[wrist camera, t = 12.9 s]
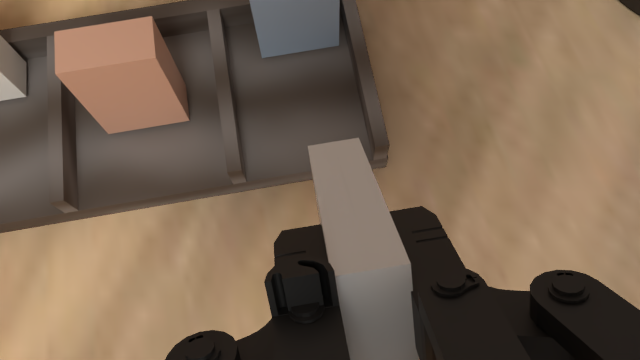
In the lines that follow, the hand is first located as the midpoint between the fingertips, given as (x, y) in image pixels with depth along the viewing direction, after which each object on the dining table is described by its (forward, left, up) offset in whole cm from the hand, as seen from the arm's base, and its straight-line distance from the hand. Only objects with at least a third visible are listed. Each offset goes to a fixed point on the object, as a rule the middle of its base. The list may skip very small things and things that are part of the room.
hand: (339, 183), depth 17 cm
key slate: (-8, -14, -16) cm, 23 cm away
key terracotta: (+2, -16, -16) cm, 22 cm away
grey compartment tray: (+2, -16, -18) cm, 24 cm away
